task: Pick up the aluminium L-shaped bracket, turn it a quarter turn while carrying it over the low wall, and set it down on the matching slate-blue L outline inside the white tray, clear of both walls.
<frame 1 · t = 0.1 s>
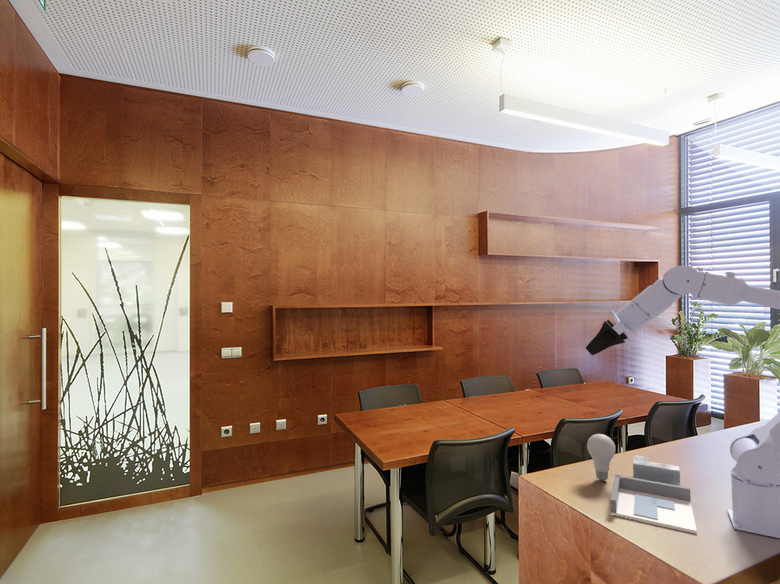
hand: (591, 349, 95), 32 cm above the counter, tool tilted 50°, fingers open, 7 cm apart
lightbulb: (602, 481, 100), on the counter
bracket: (656, 486, 97), on the counter
white tray: (651, 508, 86), on the counter
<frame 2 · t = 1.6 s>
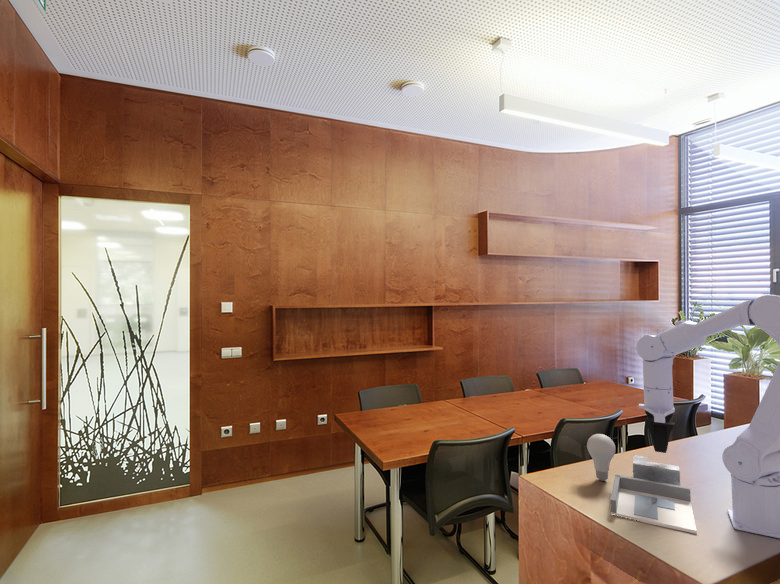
hand: (660, 446, 96), 9 cm above the counter, tool pointing down, fingers open, 7 cm apart
nothing on the counter moved.
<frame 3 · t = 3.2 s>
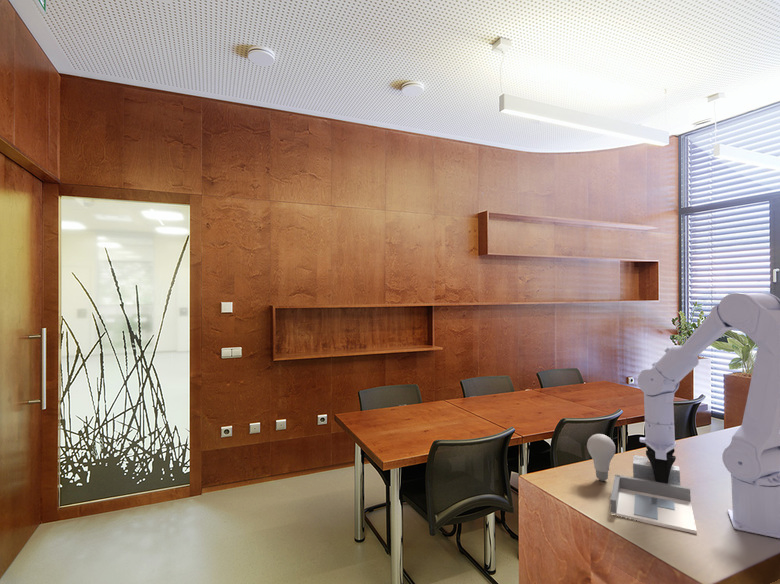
hand: (661, 481, 96), 1 cm above the counter, tool pointing down, fingers closed on bracket, 3 cm apart
bracket: (656, 486, 97), on the counter, touching gripper
everything else where it was.
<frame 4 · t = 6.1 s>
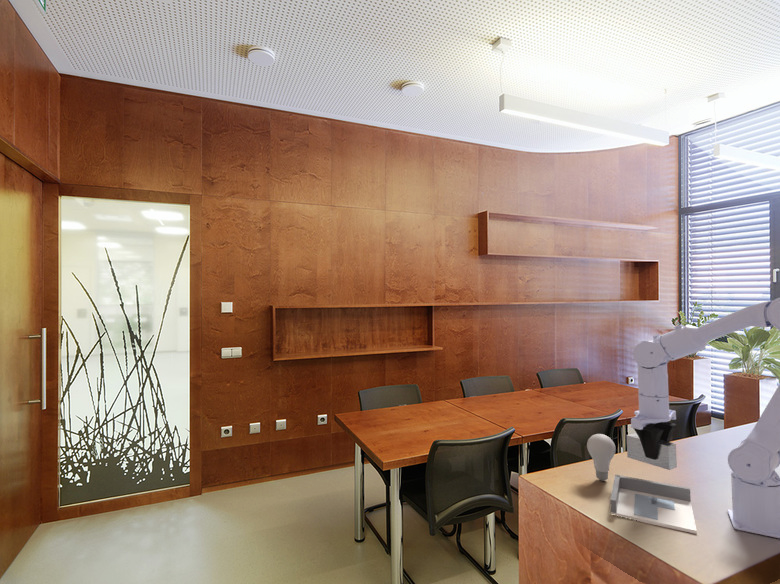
hand: (655, 456, 93), 8 cm above the counter, tool pointing down, fingers closed on bracket, 3 cm apart
bracket: (651, 462, 93), point 7 cm above the counter, touching gripper
everything else where it was.
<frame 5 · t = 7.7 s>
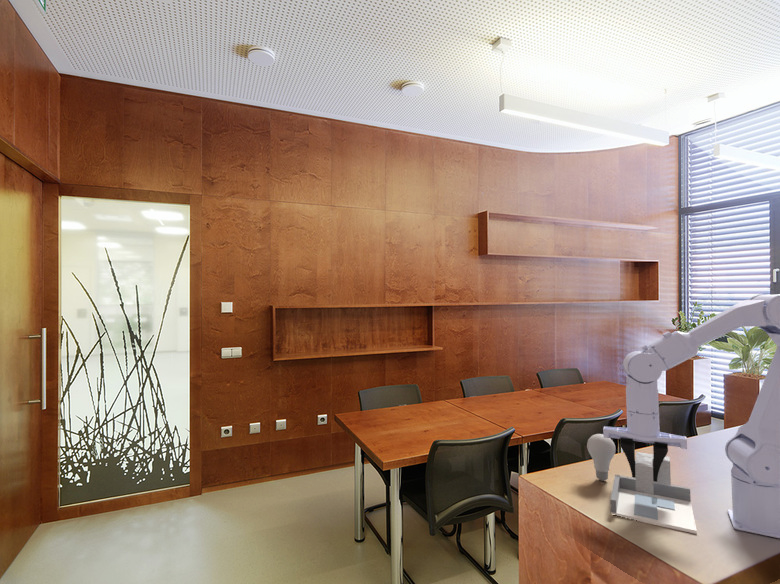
hand: (644, 477, 85), 7 cm above the counter, tool pointing down, fingers closed on bracket, 3 cm apart
bracket: (644, 484, 86), point 5 cm above the counter, touching gripper
everything else where it was.
when the fingers open (4 cm above the counter, at t = 9.0 s): bracket drops 1 cm, resting on white tray.
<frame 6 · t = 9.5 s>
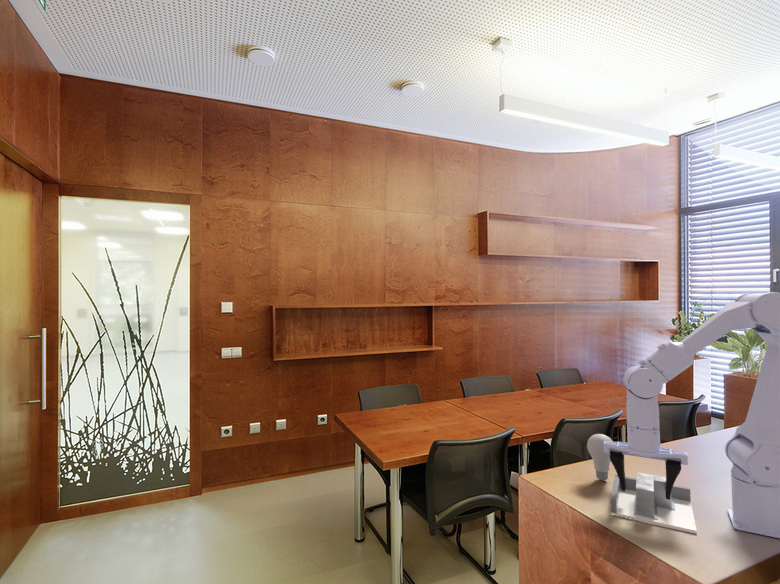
hand: (645, 493, 85), 4 cm above the counter, tool pointing down, fingers open, 7 cm apart
bracket: (645, 505, 86), point 1 cm above the counter, touching white tray
everything else where it was.
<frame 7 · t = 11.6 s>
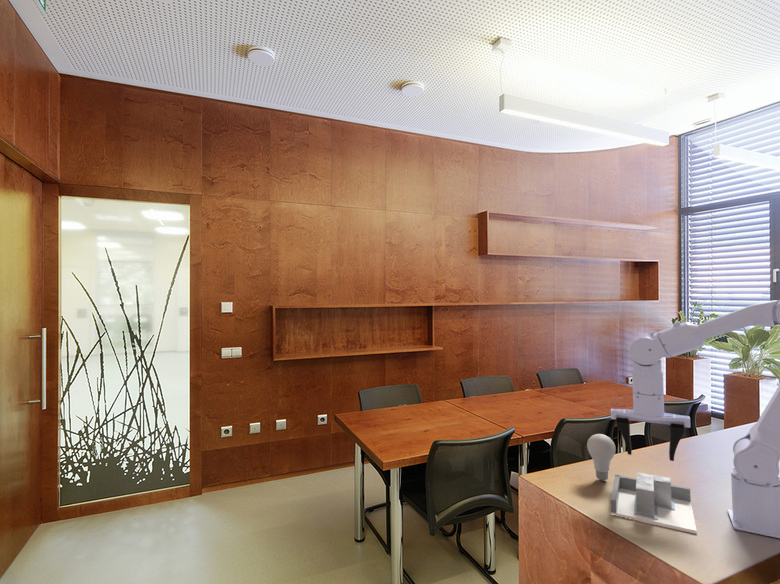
hand: (650, 456, 90), 9 cm above the counter, tool pointing down, fingers open, 7 cm apart
nothing on the counter moved.
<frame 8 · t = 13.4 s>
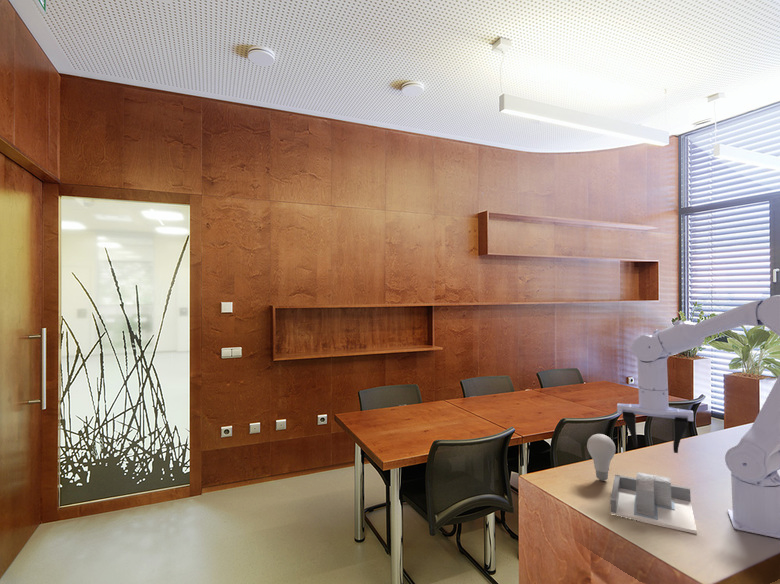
hand: (655, 448, 95), 9 cm above the counter, tool pointing down, fingers open, 7 cm apart
nothing on the counter moved.
at the end: bracket 0.3 cm from the target spot, point 0.8 cm above the counter; bracket tilted 0°; the gripper is holding nothing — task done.
